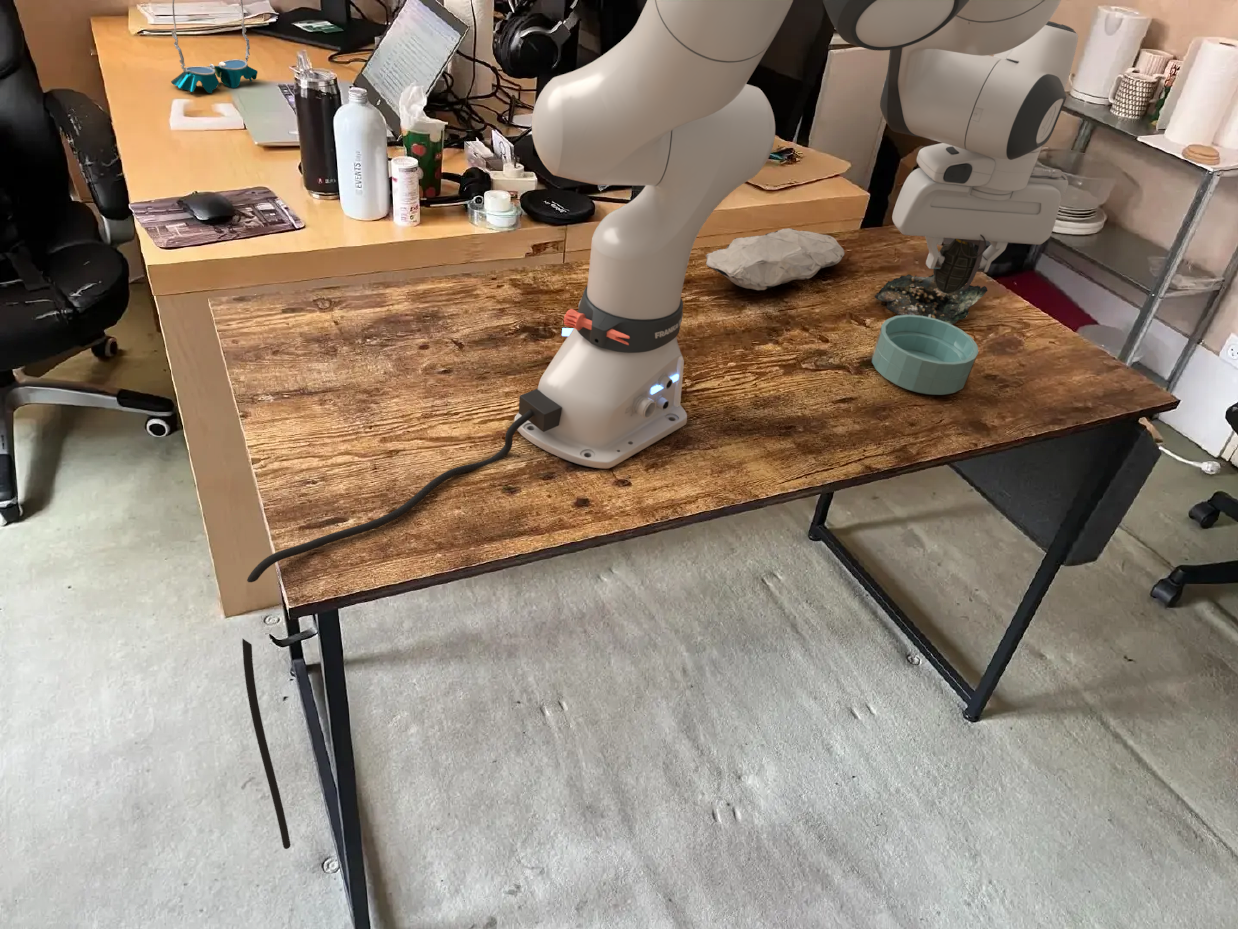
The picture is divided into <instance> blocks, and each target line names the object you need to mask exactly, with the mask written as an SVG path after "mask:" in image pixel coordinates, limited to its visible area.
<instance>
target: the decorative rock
mask: <svg viewBox="0 0 1238 929" xmlns="http://www.w3.org/2000/svg"><path fill="white" fill-rule="evenodd" d="M965 285H966V284H965ZM965 285H964V286H965ZM964 286H963V287H962V288H961V289H959V290H958V291H955V292H952V293H949V294H947V293H943V292H941V291H940V289H939V288H938V286H937V285H936V283H935V280H934V273H933V274H931V275H929V276H917V275H914V276H913V275H911V274H906V275H901V276H900V277H895V278H893V279H892V280H888V281H887V282H885V284H884V286H883V287H881V289H880V290H879V291H878V292H877V293H876V294H875V295H874V298H875V300H878V301H880V302H883V303H886V309H887V310H889V311H891V312H893V313H895V314H897V315H898V316H900V315H920V316H925V317H930V318H935V319H938V320H941V321H944V322H947V323H949V324H951V325H955V324H957V322H958V321H960V320H965V319H966V318H967V316H969V315H970V312H969V308H971V306H974V305H975V304H976V303H977V302H978V301H979V300H980V299H981V298H982V297H984V295H985V294H986V293H987V292H988V287H986V286H985V285H983V286H982V287H981V286H980V285H971V284H970V285H969V287H968V288H967V289H964V290H963V288H964Z"/></svg>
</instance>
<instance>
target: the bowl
mask: <svg viewBox="0 0 1238 929" xmlns="http://www.w3.org/2000/svg"><path fill="white" fill-rule="evenodd" d="M978 356H979V346H978V344H977V343H976V341H975V340H974V338H973V337H972V336H971V335H970V334H968V333H967V332H965V331H964V330H963V329H961V328H959V327H957V326H956V325H954V324H952V325H951V324H949V323H947V322H944V321H941V320H938V319H935V318H930V317H925V316H920V315H895V316H892V317H890V318H887V319H886V320H884V322H883V323H882V324H881V326H880V329H879V333H878V335H877V338H876V342H875V344H874V347H873V350H872V352H871V363H872V365H873V367H874V369H875V370H876V372H878V373H879V374H880V375H881V376H882V377H883V378H884V379H886V380H888V381H889V382H890V383H892V384H894V385H895V386H898V387H900V388H901V389H902V388H903V389H904V390H908V391H910V392H913V393H918V394H922V395H933V396H935V395H936V396H944V395H951V394H955V393H957V392H958V391H961V390H962V389H964V387H965V385H966V384H967V382H968V381H969V380H968V379H969V377H970V375H971V373H972V370H973V367H974V365H975V362H976V360H977V357H978Z"/></svg>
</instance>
